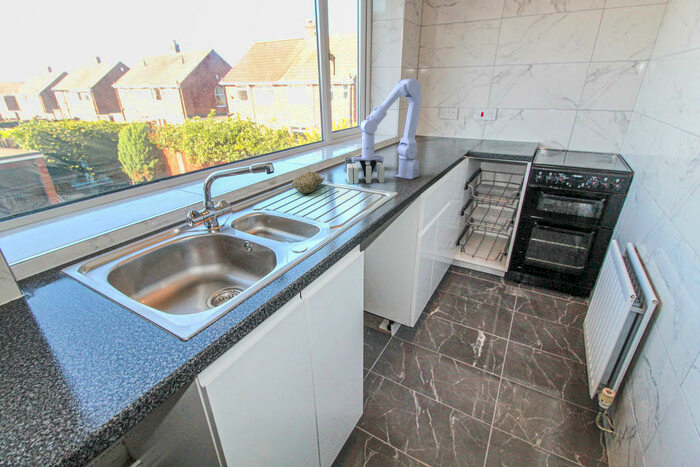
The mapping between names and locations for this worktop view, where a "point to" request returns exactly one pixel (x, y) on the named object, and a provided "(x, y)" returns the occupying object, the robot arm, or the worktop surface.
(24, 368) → the worktop surface
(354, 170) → the white books
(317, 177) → the sponge
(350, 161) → the grey books
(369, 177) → the white book
